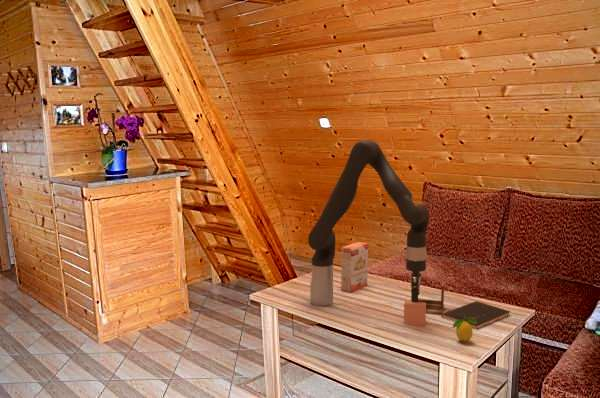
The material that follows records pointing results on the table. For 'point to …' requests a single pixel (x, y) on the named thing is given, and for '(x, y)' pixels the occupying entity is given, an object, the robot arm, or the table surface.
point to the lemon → (464, 328)
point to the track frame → (434, 304)
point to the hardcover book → (476, 313)
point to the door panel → (414, 313)
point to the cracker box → (354, 266)
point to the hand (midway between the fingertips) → (415, 298)
